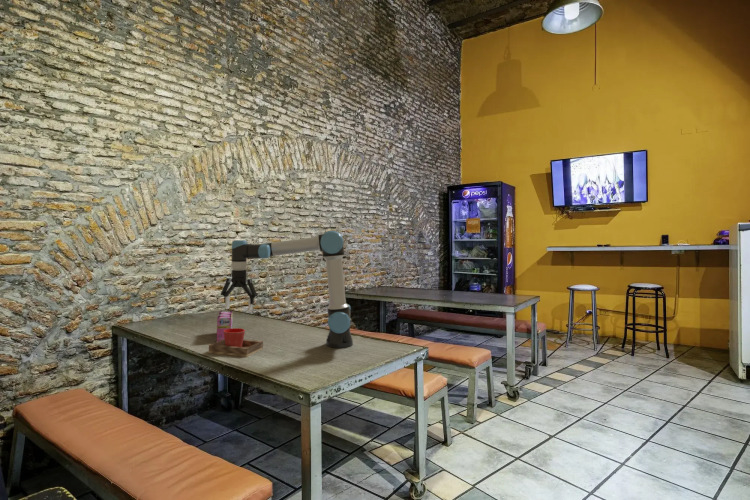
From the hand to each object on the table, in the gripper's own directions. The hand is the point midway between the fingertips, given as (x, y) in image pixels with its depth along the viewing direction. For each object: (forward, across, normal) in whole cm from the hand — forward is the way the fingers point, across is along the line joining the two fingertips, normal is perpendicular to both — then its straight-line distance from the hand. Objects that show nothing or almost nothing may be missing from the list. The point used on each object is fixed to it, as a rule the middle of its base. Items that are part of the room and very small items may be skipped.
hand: (238, 309), depth 221 cm
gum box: (+22, +24, -23) cm, 40 cm away
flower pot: (+21, +2, +1) cm, 21 cm away
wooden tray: (+22, +1, +1) cm, 22 cm away
